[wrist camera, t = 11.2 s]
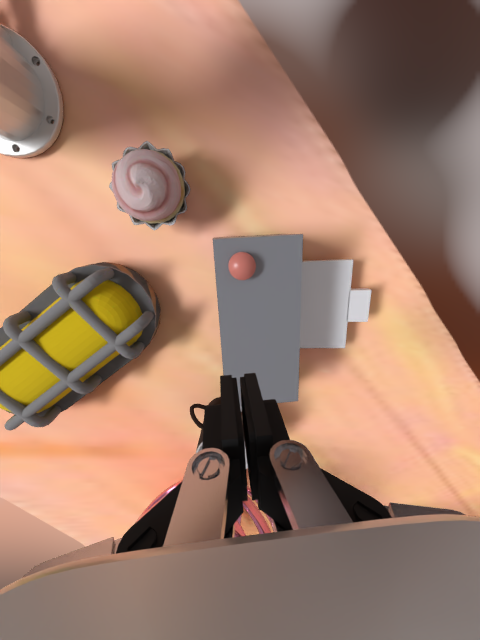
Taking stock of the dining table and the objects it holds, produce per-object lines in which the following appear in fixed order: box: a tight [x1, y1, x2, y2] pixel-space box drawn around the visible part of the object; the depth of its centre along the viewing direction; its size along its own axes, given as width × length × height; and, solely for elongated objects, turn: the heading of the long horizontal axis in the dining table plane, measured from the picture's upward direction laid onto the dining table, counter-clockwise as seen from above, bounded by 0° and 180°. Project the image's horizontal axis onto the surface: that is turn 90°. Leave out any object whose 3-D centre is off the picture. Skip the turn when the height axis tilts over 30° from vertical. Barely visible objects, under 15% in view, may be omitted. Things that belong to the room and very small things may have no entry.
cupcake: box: [109, 141, 190, 230], centre depth 30 cm, size 9×9×10 cm
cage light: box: [0, 262, 161, 430], centre depth 37 cm, size 15×8×30 cm
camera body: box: [213, 234, 303, 412], centre depth 36 cm, size 25×10×11 cm, turn 3°
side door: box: [300, 259, 371, 348], centre depth 40 cm, size 14×1×13 cm
